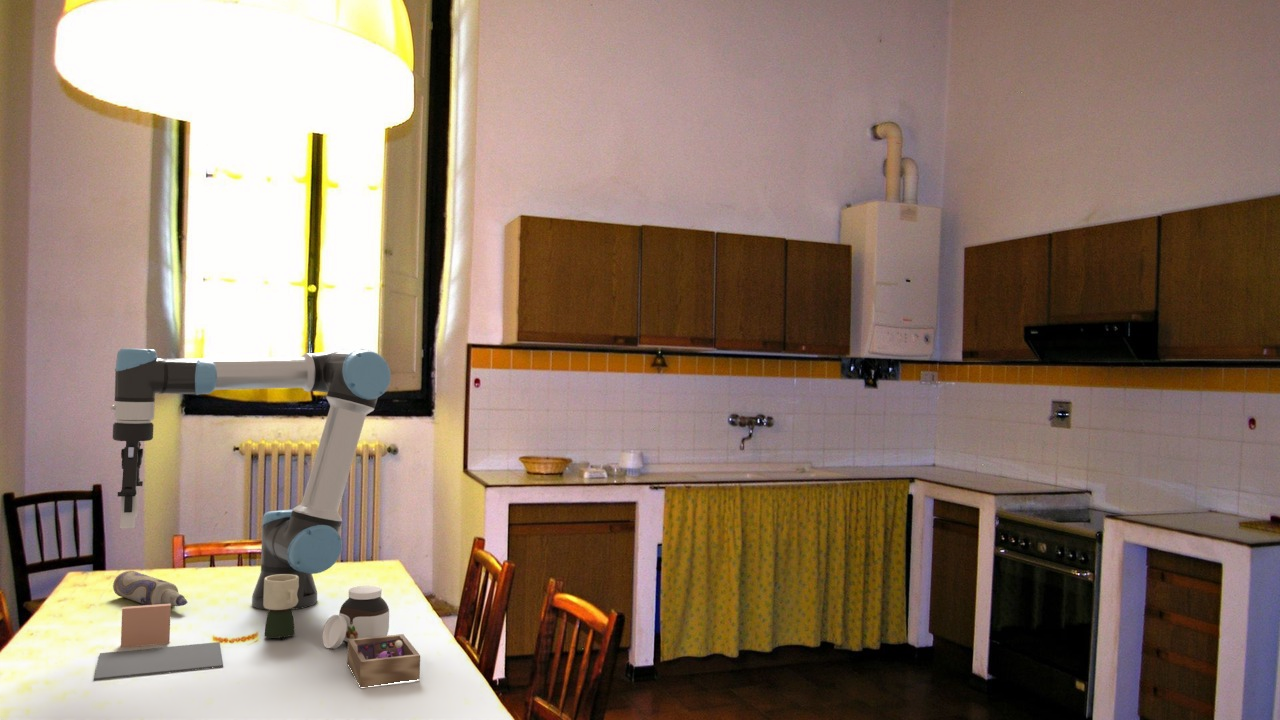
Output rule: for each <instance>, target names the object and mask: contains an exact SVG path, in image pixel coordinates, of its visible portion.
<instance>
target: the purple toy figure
mask: <svg viewBox="0 0 1280 720" xmlns="http://www.w3.org/2000/svg"><path fill="white" fill-rule="evenodd" d="M394 642H395V644H394ZM387 643H388V644H387ZM376 644H381V645H380V647H381V648H382V649H386V648H387V646H388V647H389V648H393V647H394V645H395V646H396V647H397V653H398V656H404V646H403V639H395V640H389V641H382V642H375V643H368V644H362V645H358V646H357V647H358V652H362V654H363V656H364V657H365V659H366V660H368V659H377V658H387V657H393V656H392V654H393V653H395V652H390V651H383V652H382V653H380V654H377V655H378V657H377V658H375V646H374V645H376Z"/></svg>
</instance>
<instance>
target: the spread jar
mask: <svg viewBox="0 0 1280 720" xmlns="http://www.w3.org/2000/svg"><path fill="white" fill-rule="evenodd" d="M389 628H390V608H389V605H388V604H387V602H386V601H385V600H384V598H382V588H381V587H380V586H376V585H360V586H353V587H351V588H349V589H348V598H347V599H346V600H345V601H344V602H343V603H342V605H341V607H340V609H339V612H338V614H334V615H332V616H330V617H329V618H328V619H327V621H326V623H325V625H324V627H323V632H322V642H323V643H322V644H323V645H324V647H325V648H327V649H332V648H333V649H334V650H335V649H338V648H339V647H340V646H341V645H342V643H344V644H345V645H346V646H347V645H348V639H357V638H368V637H378V636H388V634H389Z"/></svg>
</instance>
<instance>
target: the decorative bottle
mask: <svg viewBox="0 0 1280 720" xmlns="http://www.w3.org/2000/svg"><path fill="white" fill-rule="evenodd" d="M112 589H113V592H114V593H115V594H116V596H118V597H121V598H125V599H127V600H130V601H134V602H137V603H140V604H142V606H144V605H157V604H171V607H181V606H184V605H187V604H188V601H187V599H186V597H185V596H184V595H182V594H181V593H179V589H178V587H177V586H176V585H175V584H174V583H171V582H169V581H166V580H163V579H160V578H156V577H153V576H149V575H147V574H144V573H140V572H138V571H135V570H126V571H123V572H121V573H119V574H118V575H117V576H116V577H115V579H114V581H113V583H112Z"/></svg>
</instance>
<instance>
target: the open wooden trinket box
mask: <svg viewBox="0 0 1280 720" xmlns="http://www.w3.org/2000/svg"><path fill="white" fill-rule="evenodd" d="M395 639H403V646H404V656H398V653H397V647H396V646H395V645H394V647H393V648H389V647H388V646H387V648H386V649H382V648H381V647H380V645H381V644H376V645H374V646H375V658H377V657H378V655H377V654H380V653H382V652H383V651H390V652H395V653H393V654H392V656H393V657H387V658H377V659H368V660H366V659H365V657H364V656H363V654H362V652H358V647H357V646H358V645H362V644H368V643H375V642H382V641H389V640H395ZM387 644H388V643H387ZM394 644H395V642H394ZM346 660H347V661H346V665H347V664H348V665H349V667H350V668H351V670H352V672H353V674H354V676H355V678H356V680H357V681H356V680H355V681H356V683H357V682H358V683H359V685H360V687H368V686H374V685H381V684H388V683H394V682H400V681H409V680H417V679H420V678H421V677H420V673H421V654H420V653H419V652H418V651H417V650H416V648H415V647H414V645H412V643H411V642H410V641H409V639H408V638H407V637H406V636H405V635H404V633H403V634H402V633H401V634H390V635H388V634H387V636H378V637H368V638H357V639H348V646H347V659H346ZM348 665H347V666H348ZM349 667H348V668H349ZM351 670H350V671H351ZM352 672H351V673H352ZM353 674H352V675H353ZM354 676H353V677H354ZM355 678H354V679H355ZM358 683H357V684H358ZM359 685H358V686H359ZM360 687H359V688H360Z"/></svg>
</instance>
